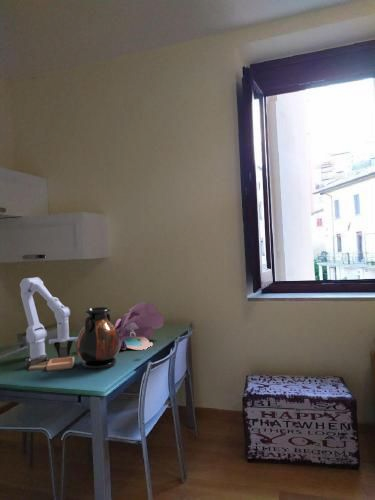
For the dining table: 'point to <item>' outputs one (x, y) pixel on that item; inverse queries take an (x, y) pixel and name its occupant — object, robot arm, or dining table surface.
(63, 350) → the stop block
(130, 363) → the dining table surface
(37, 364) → the crank base
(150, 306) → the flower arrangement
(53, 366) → the tray
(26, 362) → the crank lever
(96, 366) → the amphora vase
